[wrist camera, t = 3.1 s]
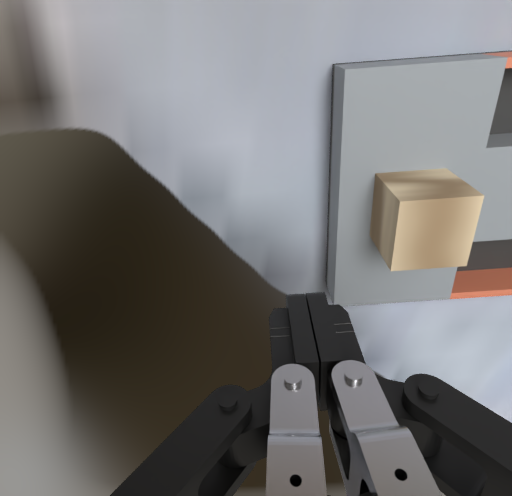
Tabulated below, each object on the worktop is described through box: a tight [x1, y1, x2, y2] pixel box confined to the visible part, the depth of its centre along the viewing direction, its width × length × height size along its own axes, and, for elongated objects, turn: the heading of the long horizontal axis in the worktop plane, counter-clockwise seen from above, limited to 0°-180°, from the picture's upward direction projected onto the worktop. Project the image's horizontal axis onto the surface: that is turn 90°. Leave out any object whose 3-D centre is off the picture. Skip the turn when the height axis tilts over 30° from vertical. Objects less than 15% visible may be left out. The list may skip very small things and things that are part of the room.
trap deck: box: [326, 51, 512, 306], centre depth 23 cm, size 20×15×6 cm
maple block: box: [370, 168, 484, 271], centre depth 21 cm, size 4×4×4 cm
